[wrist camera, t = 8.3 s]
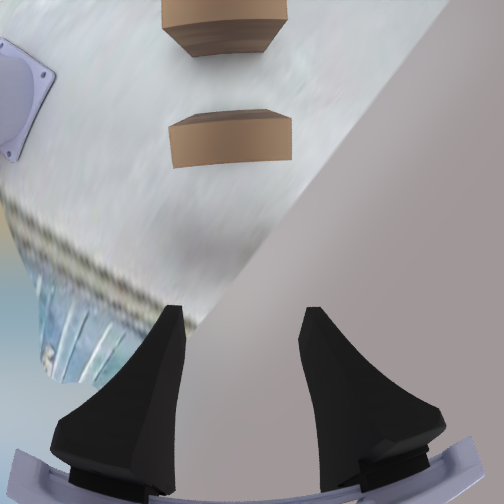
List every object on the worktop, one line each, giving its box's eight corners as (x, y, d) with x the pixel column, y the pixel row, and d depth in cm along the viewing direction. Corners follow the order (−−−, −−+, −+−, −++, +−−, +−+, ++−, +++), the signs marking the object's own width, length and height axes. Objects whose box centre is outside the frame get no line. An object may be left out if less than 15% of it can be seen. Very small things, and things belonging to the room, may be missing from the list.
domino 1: (192, 57, 14) (161, 28, 7) (191, 35, 13) (161, -7, 6) (263, 52, 14) (287, 19, 7) (262, 30, 13) (285, -15, 6)
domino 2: (198, 137, 17) (173, 168, 10) (196, 114, 16) (168, 127, 9) (266, 132, 17) (291, 160, 10) (266, 109, 16) (291, 118, 9)
